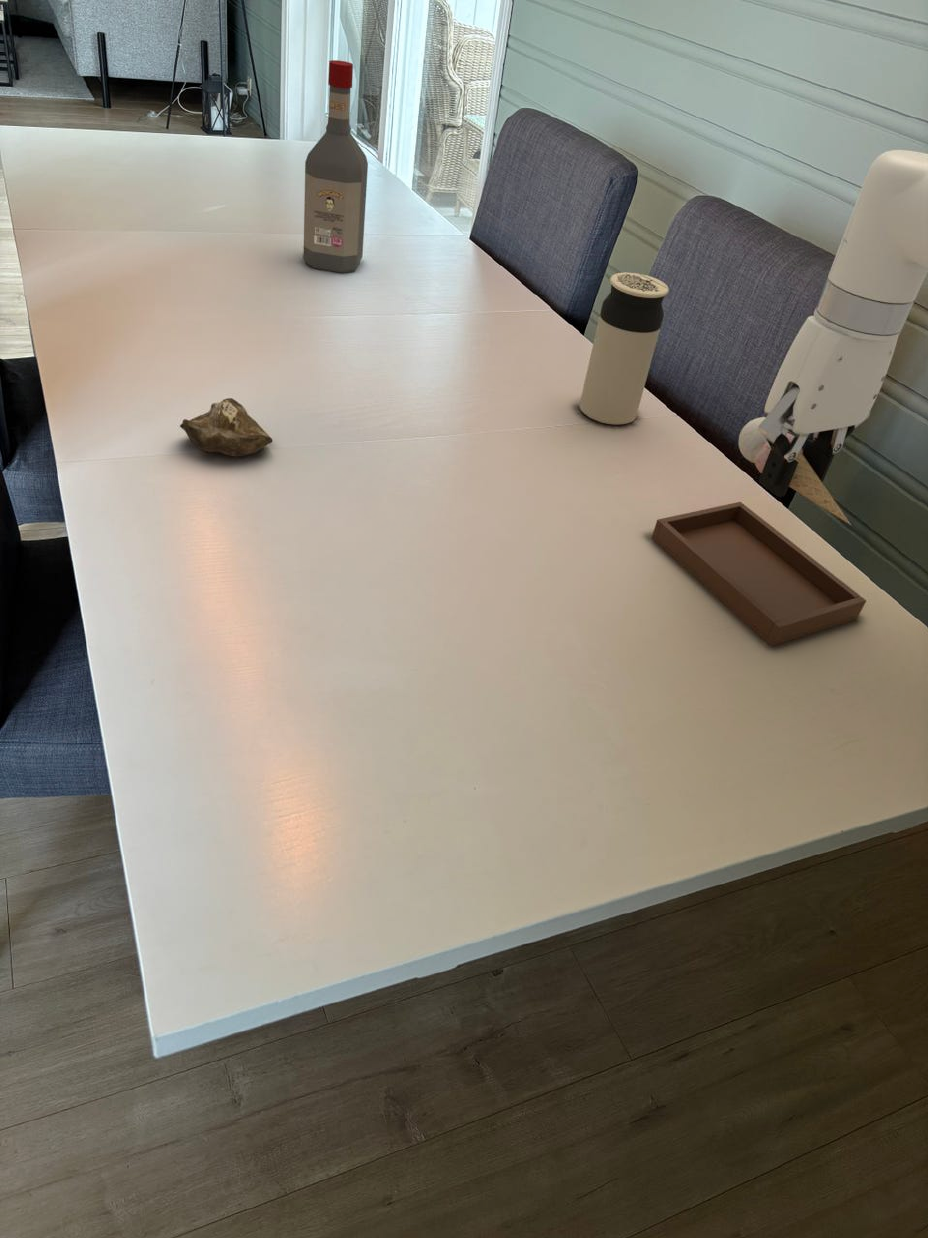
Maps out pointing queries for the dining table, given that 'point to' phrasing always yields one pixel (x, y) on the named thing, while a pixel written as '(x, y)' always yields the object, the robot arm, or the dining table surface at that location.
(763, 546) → the tray
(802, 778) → the dining table surface
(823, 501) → the ice cream cone
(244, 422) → the fossilized seashell
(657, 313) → the travel mug
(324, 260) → the liquor
